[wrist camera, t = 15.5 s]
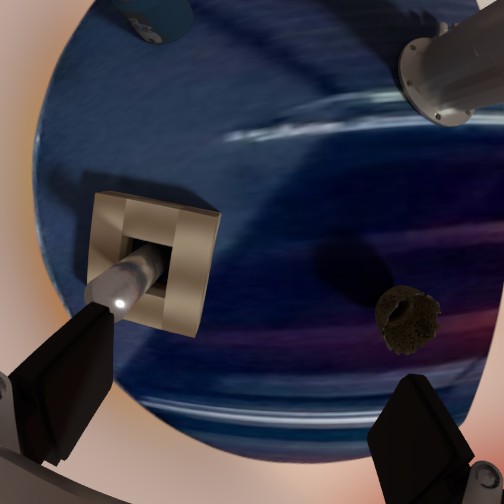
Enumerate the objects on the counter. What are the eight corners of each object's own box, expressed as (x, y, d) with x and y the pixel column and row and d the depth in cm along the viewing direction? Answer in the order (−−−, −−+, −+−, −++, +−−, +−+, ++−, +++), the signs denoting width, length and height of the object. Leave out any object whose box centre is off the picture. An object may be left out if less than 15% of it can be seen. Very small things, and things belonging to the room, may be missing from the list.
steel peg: (141, 238, 36) (84, 272, 23) (172, 245, 37) (128, 284, 23) (137, 269, 37) (83, 316, 24) (167, 277, 37) (125, 329, 24)
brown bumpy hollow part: (409, 322, 39) (435, 350, 31) (360, 329, 39) (380, 360, 31) (414, 270, 37) (446, 291, 29) (363, 275, 37) (388, 298, 29)
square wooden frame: (110, 190, 35) (95, 192, 31) (221, 212, 36) (217, 217, 32) (100, 296, 38) (86, 307, 34) (200, 322, 39) (194, 337, 35)
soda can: (190, -2, 29) (169, -55, 17) (199, 38, 31) (178, -12, 19) (139, 14, 29) (103, -31, 18) (145, 55, 31) (104, 15, 19)
